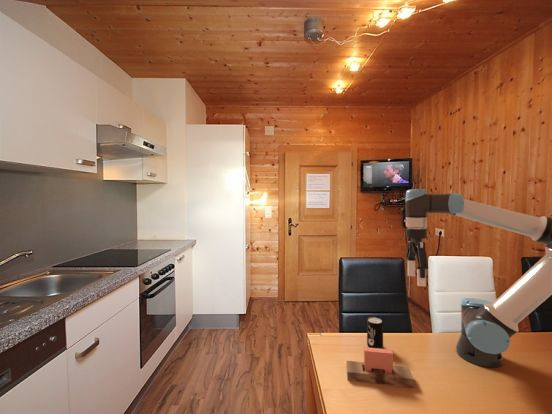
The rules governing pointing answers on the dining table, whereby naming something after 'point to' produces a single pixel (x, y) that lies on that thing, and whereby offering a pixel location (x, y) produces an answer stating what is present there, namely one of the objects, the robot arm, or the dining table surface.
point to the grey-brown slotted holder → (380, 375)
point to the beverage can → (374, 333)
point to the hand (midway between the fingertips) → (416, 280)
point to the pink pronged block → (378, 359)
